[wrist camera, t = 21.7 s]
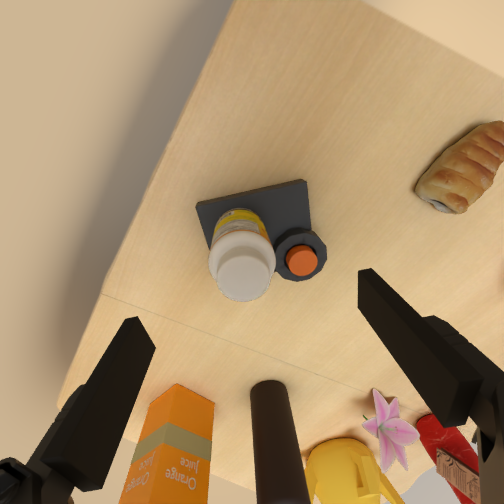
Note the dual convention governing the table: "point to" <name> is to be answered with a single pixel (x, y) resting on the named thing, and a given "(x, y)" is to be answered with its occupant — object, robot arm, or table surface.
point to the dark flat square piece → (272, 220)
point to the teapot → (347, 474)
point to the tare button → (301, 260)
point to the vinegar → (276, 447)
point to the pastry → (464, 169)
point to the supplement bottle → (241, 255)
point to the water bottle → (452, 458)
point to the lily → (390, 432)
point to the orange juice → (172, 451)
